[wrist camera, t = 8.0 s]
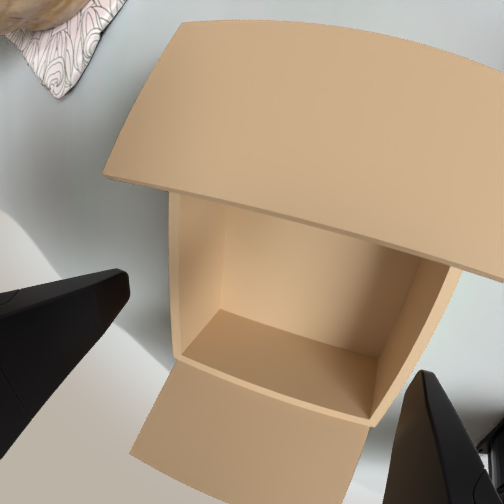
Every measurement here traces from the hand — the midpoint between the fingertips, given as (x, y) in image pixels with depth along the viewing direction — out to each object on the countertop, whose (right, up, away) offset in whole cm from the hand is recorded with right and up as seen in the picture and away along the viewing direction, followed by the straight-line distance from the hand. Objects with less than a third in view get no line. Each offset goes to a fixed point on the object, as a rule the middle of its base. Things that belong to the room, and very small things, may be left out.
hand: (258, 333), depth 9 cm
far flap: (0, -9, +7) cm, 11 cm away
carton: (+4, +4, +10) cm, 11 cm away
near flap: (+2, +6, 0) cm, 7 cm away
